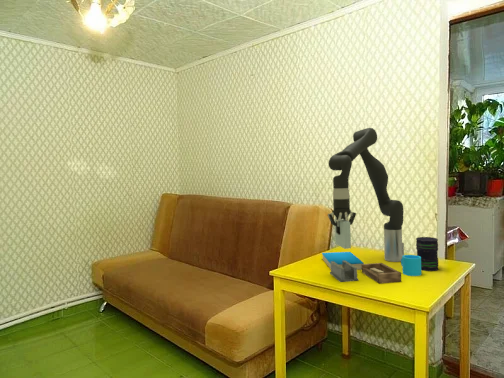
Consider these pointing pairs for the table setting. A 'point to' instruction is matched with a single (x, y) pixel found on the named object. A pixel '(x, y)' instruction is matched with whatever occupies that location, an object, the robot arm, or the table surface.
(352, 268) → the charcoal stand
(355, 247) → the table surface
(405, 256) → the mug
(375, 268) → the birch offcut
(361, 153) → the robot arm
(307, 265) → the table surface
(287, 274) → the table surface
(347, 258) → the book
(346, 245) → the blue-grey panel
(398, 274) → the brown wooden tray
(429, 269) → the storage jar
